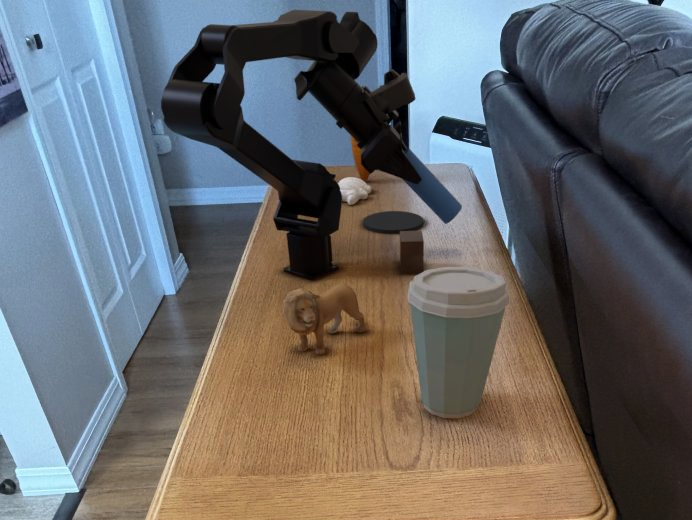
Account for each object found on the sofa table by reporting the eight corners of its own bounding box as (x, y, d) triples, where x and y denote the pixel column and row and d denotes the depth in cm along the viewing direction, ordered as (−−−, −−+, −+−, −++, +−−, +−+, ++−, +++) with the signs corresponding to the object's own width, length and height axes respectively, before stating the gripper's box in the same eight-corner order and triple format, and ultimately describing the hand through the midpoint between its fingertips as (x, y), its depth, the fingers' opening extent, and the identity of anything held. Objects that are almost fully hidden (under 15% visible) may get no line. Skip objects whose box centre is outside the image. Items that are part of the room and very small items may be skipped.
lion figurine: (313, 370, 91) (306, 299, 85) (278, 360, 93) (269, 291, 87) (374, 325, 101) (372, 259, 95) (342, 317, 103) (337, 252, 97)
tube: (392, 227, 118) (391, 151, 111) (392, 220, 121) (391, 145, 114) (461, 226, 118) (465, 150, 111) (460, 218, 121) (463, 144, 114)
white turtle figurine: (317, 203, 145) (315, 186, 143) (339, 186, 153) (338, 170, 151) (358, 206, 142) (358, 189, 141) (379, 189, 151) (378, 173, 149)
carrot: (375, 185, 154) (373, 103, 144) (352, 185, 154) (348, 103, 144) (376, 178, 158) (374, 98, 148) (353, 179, 158) (349, 98, 148)
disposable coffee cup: (397, 388, 87) (395, 261, 78) (483, 377, 89) (492, 252, 79) (419, 435, 79) (420, 300, 70) (514, 422, 81) (527, 289, 72)
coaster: (398, 237, 128) (398, 234, 128) (350, 225, 134) (350, 222, 133) (435, 221, 135) (435, 218, 135) (388, 210, 140) (388, 207, 140)
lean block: (401, 274, 115) (400, 241, 112) (400, 262, 119) (399, 231, 116) (423, 273, 115) (423, 241, 112) (421, 262, 119) (421, 230, 116)
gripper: (381, 63, 97) (461, 152, 104) (381, 42, 111) (452, 123, 119) (326, 130, 102) (406, 212, 109) (333, 103, 116) (404, 176, 124)
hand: (419, 178), depth 115 cm, fingers closed on tube, 4 cm apart
